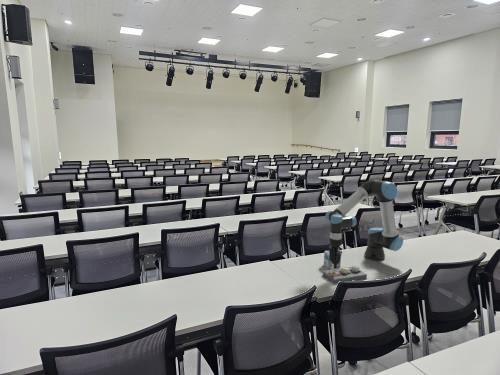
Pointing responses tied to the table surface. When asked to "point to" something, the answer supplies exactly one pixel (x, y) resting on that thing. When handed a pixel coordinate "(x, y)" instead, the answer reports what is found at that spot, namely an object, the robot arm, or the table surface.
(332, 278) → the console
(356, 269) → the button one
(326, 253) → the light bulb box
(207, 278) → the table surface
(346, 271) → the button two
